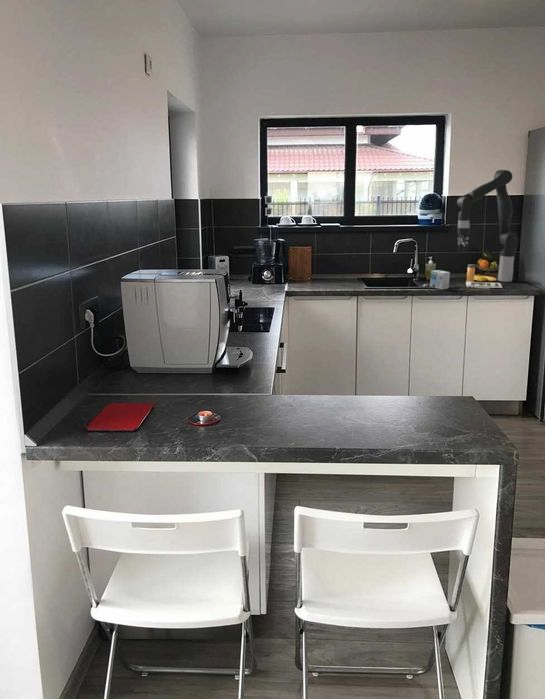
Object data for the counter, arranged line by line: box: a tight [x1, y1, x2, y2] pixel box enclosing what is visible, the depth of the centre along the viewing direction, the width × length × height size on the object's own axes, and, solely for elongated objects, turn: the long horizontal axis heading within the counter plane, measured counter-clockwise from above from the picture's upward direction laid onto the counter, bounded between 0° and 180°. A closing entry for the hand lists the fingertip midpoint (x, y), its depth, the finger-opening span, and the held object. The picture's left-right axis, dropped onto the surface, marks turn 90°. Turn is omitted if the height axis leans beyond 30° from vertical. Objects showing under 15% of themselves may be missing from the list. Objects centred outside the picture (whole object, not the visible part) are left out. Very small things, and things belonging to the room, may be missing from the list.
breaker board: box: [465, 281, 503, 289], centre depth 451 cm, size 22×14×3 cm, turn 78°
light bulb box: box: [429, 269, 451, 290], centre depth 443 cm, size 11×7×11 cm, turn 37°
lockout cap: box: [465, 263, 476, 283], centre depth 463 cm, size 5×5×12 cm
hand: (462, 251), depth 458 cm, fingers open, 8 cm apart
